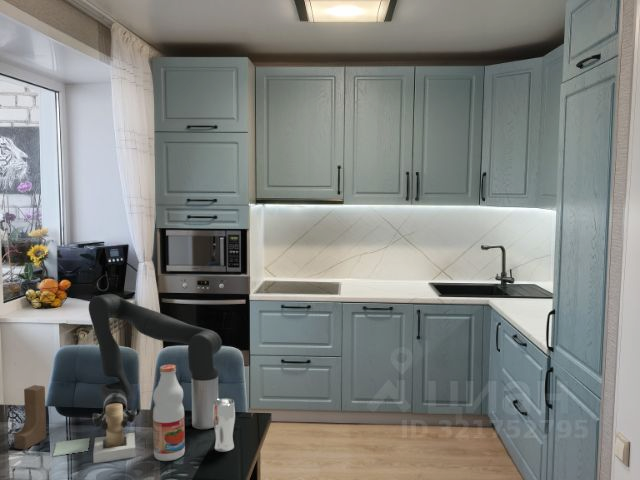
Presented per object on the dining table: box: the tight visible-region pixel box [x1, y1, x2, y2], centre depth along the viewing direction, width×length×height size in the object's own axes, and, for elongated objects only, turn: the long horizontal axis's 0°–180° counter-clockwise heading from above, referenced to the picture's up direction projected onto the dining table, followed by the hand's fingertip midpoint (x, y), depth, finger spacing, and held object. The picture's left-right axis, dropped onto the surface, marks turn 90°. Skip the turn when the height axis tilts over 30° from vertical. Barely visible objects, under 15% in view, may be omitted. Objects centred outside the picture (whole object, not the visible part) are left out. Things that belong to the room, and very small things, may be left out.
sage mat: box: [52, 437, 91, 458], centre depth 173 cm, size 10×10×1 cm
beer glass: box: [213, 397, 236, 453], centre depth 173 cm, size 7×7×15 cm
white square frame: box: [92, 432, 136, 464], centre depth 170 cm, size 12×12×3 cm
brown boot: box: [13, 384, 47, 451], centre depth 176 cm, size 9×4×18 cm, turn 163°
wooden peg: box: [105, 403, 124, 448], centre depth 170 cm, size 5×5×14 cm
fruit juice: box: [152, 364, 186, 462], centre depth 167 cm, size 9×9×28 cm
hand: (114, 425), depth 168 cm, fingers closed on wooden peg, 5 cm apart
